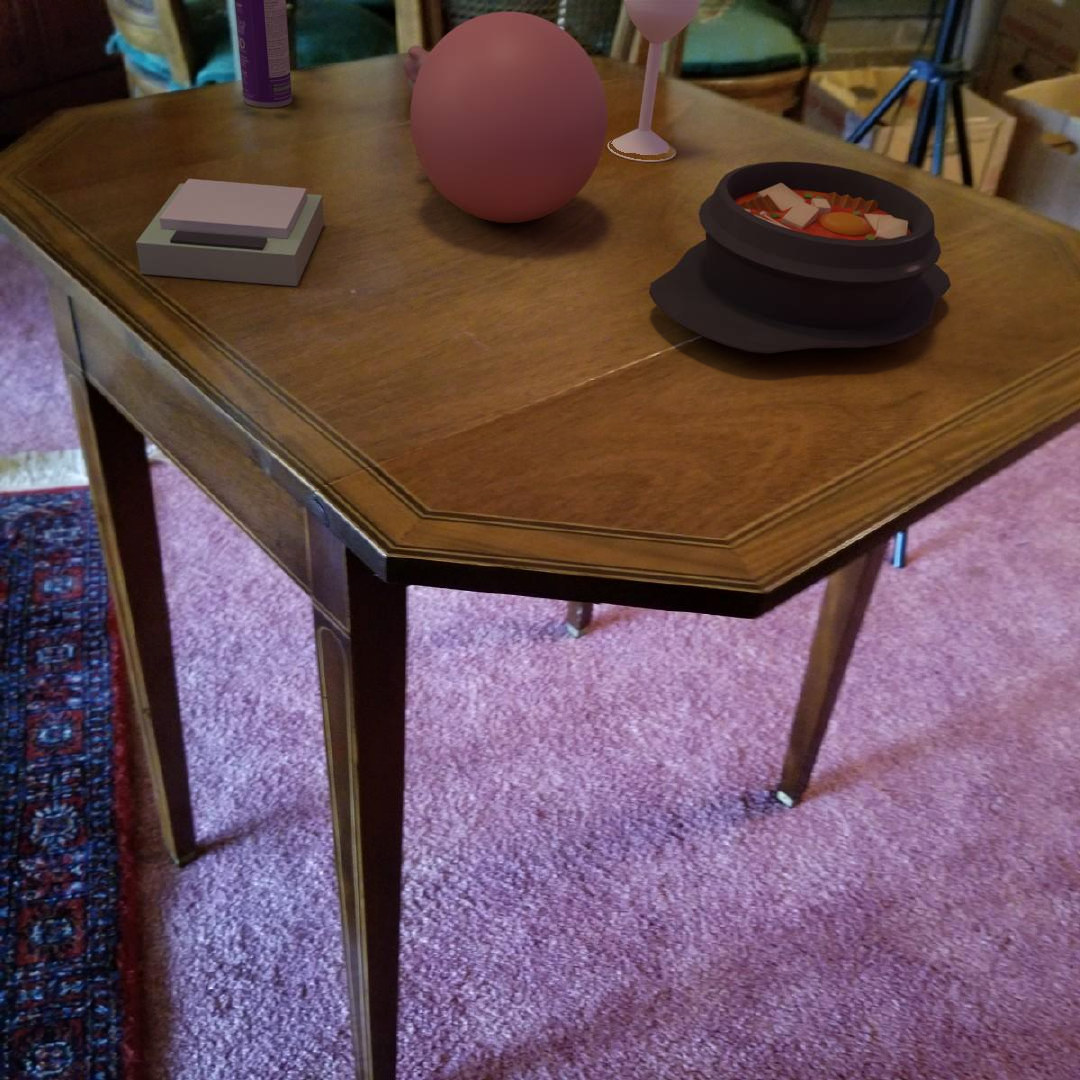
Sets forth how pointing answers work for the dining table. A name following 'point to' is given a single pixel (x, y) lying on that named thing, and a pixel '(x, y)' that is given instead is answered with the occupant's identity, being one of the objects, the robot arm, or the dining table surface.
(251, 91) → the container
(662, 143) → the champagne flute
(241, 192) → the scale
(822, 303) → the casserole
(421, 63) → the balloon
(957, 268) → the dining table surface
